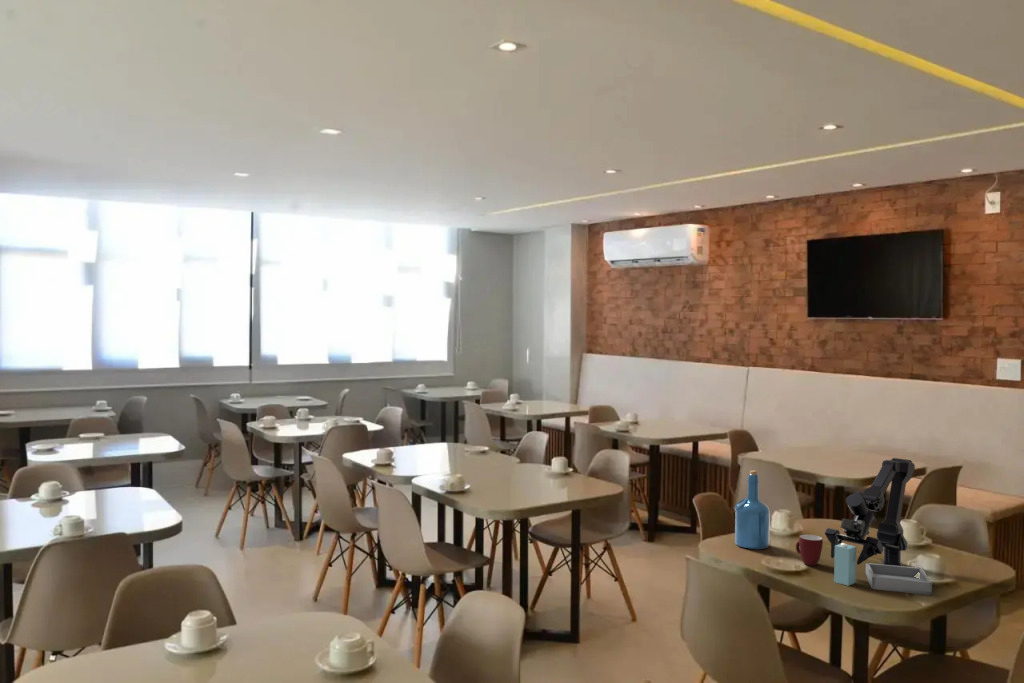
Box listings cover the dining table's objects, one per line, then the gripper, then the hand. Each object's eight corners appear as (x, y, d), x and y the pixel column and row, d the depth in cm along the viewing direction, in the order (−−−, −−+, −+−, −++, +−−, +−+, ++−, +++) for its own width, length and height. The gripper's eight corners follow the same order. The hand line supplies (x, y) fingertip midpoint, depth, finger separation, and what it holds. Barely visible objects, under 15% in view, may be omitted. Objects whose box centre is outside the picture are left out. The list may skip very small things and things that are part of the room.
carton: (841, 579, 274) (842, 540, 274) (855, 582, 270) (856, 543, 270) (834, 581, 271) (834, 542, 271) (848, 585, 267) (848, 546, 267)
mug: (788, 561, 294) (788, 535, 294) (801, 558, 299) (801, 531, 299) (813, 568, 286) (814, 541, 285) (826, 565, 290) (827, 538, 290)
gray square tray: (865, 574, 280) (865, 562, 280) (921, 579, 275) (921, 568, 275) (871, 589, 264) (872, 577, 264) (931, 595, 259) (932, 583, 259)
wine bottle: (766, 542, 321) (767, 468, 320) (772, 551, 308) (773, 474, 307) (731, 540, 323) (732, 467, 322) (736, 549, 310) (737, 473, 309)
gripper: (827, 505, 281) (810, 540, 274) (880, 515, 266) (863, 553, 259) (838, 524, 286) (822, 559, 279) (890, 534, 271) (874, 572, 265)
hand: (844, 560), depth 270 cm, fingers open, 9 cm apart
